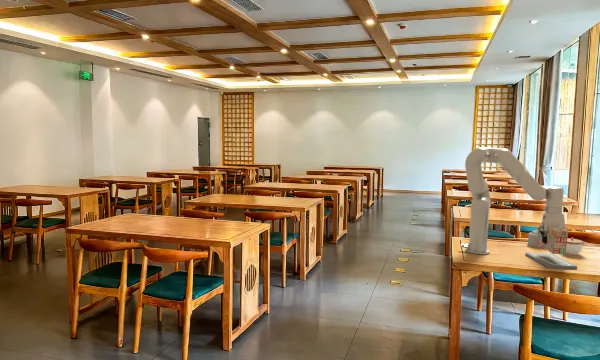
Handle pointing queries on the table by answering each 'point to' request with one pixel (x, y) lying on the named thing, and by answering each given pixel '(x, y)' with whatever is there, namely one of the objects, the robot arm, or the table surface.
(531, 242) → the grey bumpy block
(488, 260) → the table surface
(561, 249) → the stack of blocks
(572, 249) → the lidded jar
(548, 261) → the foundation board
